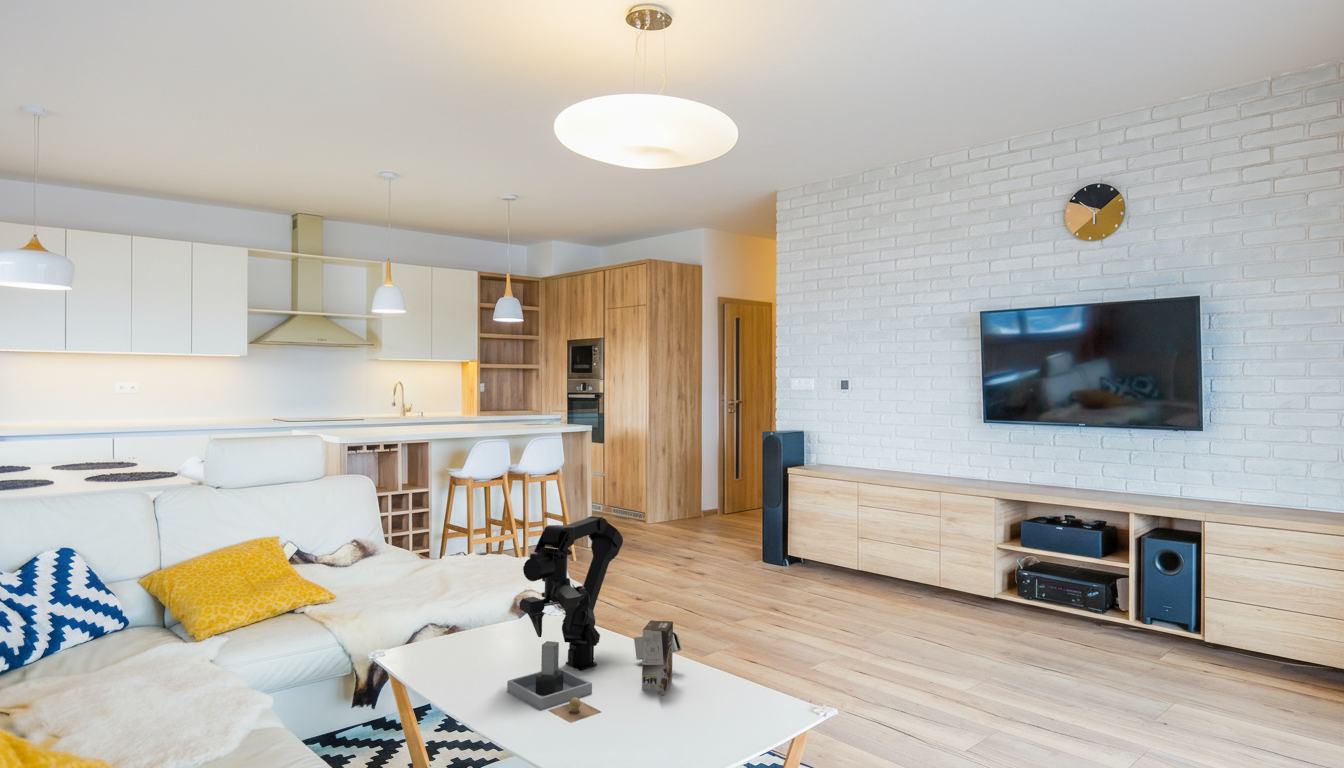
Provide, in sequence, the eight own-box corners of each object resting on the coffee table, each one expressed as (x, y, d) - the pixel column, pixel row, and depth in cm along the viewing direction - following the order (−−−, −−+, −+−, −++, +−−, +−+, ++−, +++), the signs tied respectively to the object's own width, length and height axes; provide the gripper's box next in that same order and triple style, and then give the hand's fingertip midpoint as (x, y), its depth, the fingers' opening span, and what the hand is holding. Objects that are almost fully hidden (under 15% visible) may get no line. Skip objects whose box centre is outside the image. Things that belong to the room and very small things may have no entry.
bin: (557, 680, 202) (557, 666, 202) (591, 697, 191) (592, 683, 191) (507, 694, 192) (507, 680, 192) (540, 713, 181) (541, 698, 181)
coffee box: (665, 695, 193) (666, 631, 193) (640, 693, 194) (641, 629, 195) (673, 682, 202) (674, 620, 202) (649, 680, 203) (650, 619, 204)
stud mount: (579, 704, 187) (579, 687, 187) (601, 716, 180) (602, 698, 180) (547, 714, 181) (548, 697, 181) (570, 727, 174) (570, 708, 174)
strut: (543, 687, 195) (544, 639, 195) (563, 689, 194) (564, 641, 194) (535, 694, 190) (536, 645, 190) (555, 697, 189) (556, 647, 189)
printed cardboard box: (636, 674, 213) (676, 665, 204) (632, 637, 217) (671, 626, 208) (646, 673, 216) (686, 664, 207) (642, 636, 220) (681, 626, 211)
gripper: (543, 584, 191) (541, 648, 190) (602, 574, 204) (601, 634, 203) (519, 576, 199) (517, 637, 199) (577, 567, 212) (576, 624, 211)
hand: (554, 633), depth 203 cm, fingers open, 9 cm apart
